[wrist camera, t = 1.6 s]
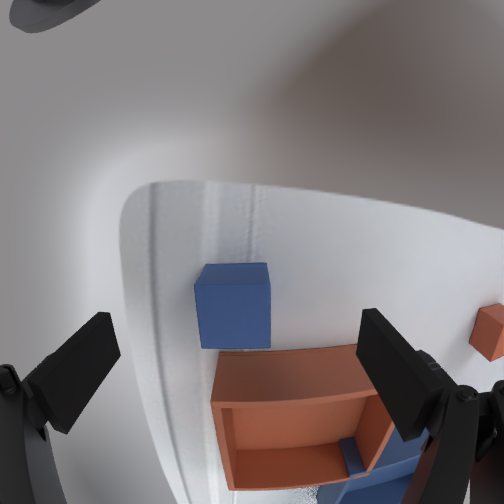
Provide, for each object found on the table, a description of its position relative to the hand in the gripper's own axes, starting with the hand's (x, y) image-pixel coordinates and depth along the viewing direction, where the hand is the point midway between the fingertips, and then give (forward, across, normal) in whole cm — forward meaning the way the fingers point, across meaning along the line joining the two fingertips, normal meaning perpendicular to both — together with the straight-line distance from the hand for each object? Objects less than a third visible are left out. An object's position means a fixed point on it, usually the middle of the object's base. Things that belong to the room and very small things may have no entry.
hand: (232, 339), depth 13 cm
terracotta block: (+6, +25, -5) cm, 26 cm away
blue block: (+6, 0, 0) cm, 6 cm away
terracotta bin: (+6, +5, -11) cm, 13 cm away
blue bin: (+6, +18, -25) cm, 31 cm away
